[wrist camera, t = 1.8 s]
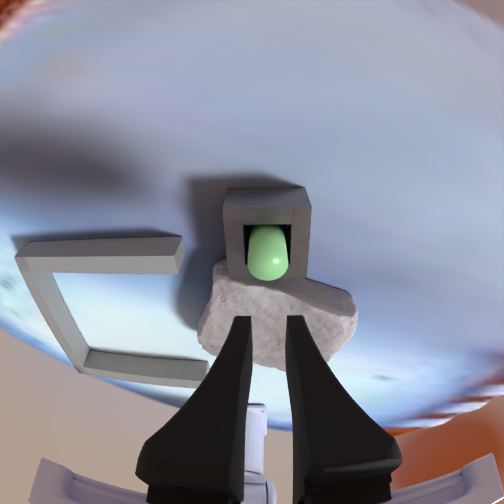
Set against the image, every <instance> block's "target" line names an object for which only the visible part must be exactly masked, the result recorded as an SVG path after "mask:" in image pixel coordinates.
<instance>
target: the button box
mask: <svg viewBox="0 0 504 504" xmlns="http://www.w3.org/2000/svg"><path fill="white" fill-rule="evenodd" d="M311 208H312V206H311V204H310V201H309V198H308V195H307V192H306V189H305V188H234V189H227V193H226V196H225V200H224V203H223V207H222V211H223V223H224V234H225V245H226V256H227V266H228V276H229V279H258V278H256V277H254V276H253V275H252V274H251V273H250V271H249V269H248V250H249V240H247V229H246V225H259V224H287V240H285V241H286V249H287V257H288V268H287V270H286V272H285V273H284V274H283V275H282V276H281V277H280V278H306V276H307V265H308V252H309V239H310V224H311Z"/></svg>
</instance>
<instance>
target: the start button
mask: <svg viewBox="0 0 504 504" xmlns="http://www.w3.org/2000/svg"><path fill="white" fill-rule="evenodd" d="M287 268H288V257H287V249H286V241H285V233H284V226H283V224H259V225H251V226H250V236H249V250H248V269H249V271H250V273H251V274H252V275H253V276H254V277H256V278H258V279H260V280H265V281H270V280H275V279H278V278H280V277H281V276H282V275H283V274H284V273H285V272H286V270H287Z"/></svg>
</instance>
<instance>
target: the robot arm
mask: <svg viewBox="0 0 504 504" xmlns="http://www.w3.org/2000/svg"><path fill="white" fill-rule="evenodd" d="M285 365H286V375H287V382H288V390H289V397H290V404H291V411H292V423H293V504H494V503H496V502H498V501H499V500H501V499H503V498H504V494H503V489H502V485H501V481H500V477H499V473H498V470H497V466H496V463H495V459H494V455H493V453H490V454H488V455H486V456H484V457H481V458H479V459H477V460H475V461H472V462H471V463H469V464H467V465H465V466H464V467H463V468H462V469H460V470H458V471H455V472H452V473H450V474H447V475H444V476H441V477H438V478H435V479H432V480H430V481H426V482H423V483H420V484H416V485H413V486H409V487H406V488H402V489H398V490H394V491H390V485H389V483H390V482H391V481H392V479H391V473H392V472H393V471H394V470H396V469H397V468H398V467H399V466H400V465H401V463H402V456H401V452H400V449H399V447H398V444H397V442H396V440H395V438H394V437H392V436H391V435H390V434H389V433H387V432H386V431H385V430H384V429H383V428H381V427H380V426H379V425H378V424H377V423H376V422H375V421H374V420H373V419H371V418H370V417H369V416H368V415H367V414H366V413H365V412H364V410H363V409H362V408H361V407H360V406H359V405H358V404H357V403H356V402H355V401H354V400H353V399H352V397H351V396H350V395H349V394H348V393H347V391H346V390H345V389H344V387H343V386H342V385H341V384H340V382H339V381H338V379H337V378H336V377H335V375H334V374H333V372H332V371H331V369H330V368H329V366H328V364H327V363H326V361H325V360H324V358H323V356H322V354H321V353H320V351H319V349H318V347H317V345H316V343H315V341H314V339H313V337H312V335H311V333H310V331H309V328H308V326H307V324H306V321H305V318H304V316H302V315H287V323H286V339H285ZM252 366H253V340H252V321H251V316H235V317H234V319H233V322H232V325H231V328H230V331H229V333H228V336H227V338H226V340H225V342H224V344H223V346H222V348H221V350H220V352H219V354H218V356H217V358H216V360H215V362H214V363H213V365H212V367H211V368H210V370H209V372H208V373H207V375H206V376H205V378H204V379H203V381H202V382H201V384H200V385H199V386H198V388H197V389H196V391H195V392H194V393H193V394H192V396H191V397H190V398H189V399H188V401H187V402H186V403H185V404H184V405H183V406H182V408H181V409H180V410H179V411H178V412H177V413H176V414H175V415H174V416H173V417H172V418H171V419H170V420H169V421H168V422H167V423H166V424H165V425H164V426H163V427H162V428H161V429H159V430H158V431H157V432H156V433H155V434H154V435H152V436H151V437H150V438H149V439H148V440H147V441H145V443H144V445H143V447H142V450H141V452H140V455H139V457H138V462H137V467H136V472H135V474H136V476H137V477H138V478H139V479H141V480H142V481H143V482H145V483H146V484H148V485H149V487H148V493H147V494H145V493H140V492H136V491H132V490H127V489H124V488H120V487H116V486H113V485H109V484H106V483H102V482H99V481H96V480H93V479H90V478H87V477H84V476H81V475H78V474H75V473H73V472H72V471H71V470H69V469H68V468H66V467H64V466H62V465H60V464H57V463H55V462H53V461H50V460H48V459H45V458H41V460H40V463H39V466H38V469H37V473H36V476H35V479H34V483H33V486H32V490H31V493H30V497H29V502H30V503H31V504H277V498H276V497H277V496H276V488H275V486H274V485H273V484H272V482H271V481H266V475H263V445H264V441H263V440H264V436H265V435H266V434H267V407H266V406H264V405H248V399H249V392H250V384H251V377H252Z"/></svg>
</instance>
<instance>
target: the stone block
mask: <svg viewBox="0 0 504 504" xmlns="http://www.w3.org/2000/svg"><path fill="white" fill-rule="evenodd" d="M212 278H213V286H212V291H211V293H210V295H211V296H210V300H209V301H208V302H207V303H206V305H205V308H204V311H203V312H202V314H201V316H200V318H199V321H198V326H197V336H198V342H199V343H200V344H201V345H202V346H203V349H204V350H206V351H207V352H208V353H210V354H211V355H213V356H218V354H219V352H220V350H221V348H222V346H223V344H224V342H225V340H226V338H227V336H228V333H229V331H230V328H231V325H232V322H233V319H234V317H235V316H251V321H252V340H253V363H255V364H259V365H261V366H266V367H274V368H277V369H279V370H281V371H285V372H286V365H285V339H286V323H287V315H302V316H304V318H305V321H306V324H307V326H308V328H309V331H310V333H311V335H312V337H313V339H314V341H315V343H316V345H317V347H318V349H319V351H320V353H321V354H322V356H323V358H324V360H325V361H326V363H327V362H329V360H330V358H331V357H332V356H333V355H334V353H336V352H338V351H339V350H341V348H342V347H343V346H344V345H345V344H346V343H347V342H348V341H349V340H350V339H351V337H352V336H353V334H354V332H355V331H356V328H357V322H358V308H357V306H356V305H355V301H354V298H353V297H352V295H351V294H350V293H348V292H346V291H344V290H341V289H338V288H335V287H332V286H328V285H325V284H322V283H319V282H315V281H312V280H309V279H306V278H278V279H275V280H270V281H265V280H260V279H229V276H228V266H227V258H226V259H223V260H220V261H218V262H217V263H216V264H215V265H214V268H213V272H212Z"/></svg>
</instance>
